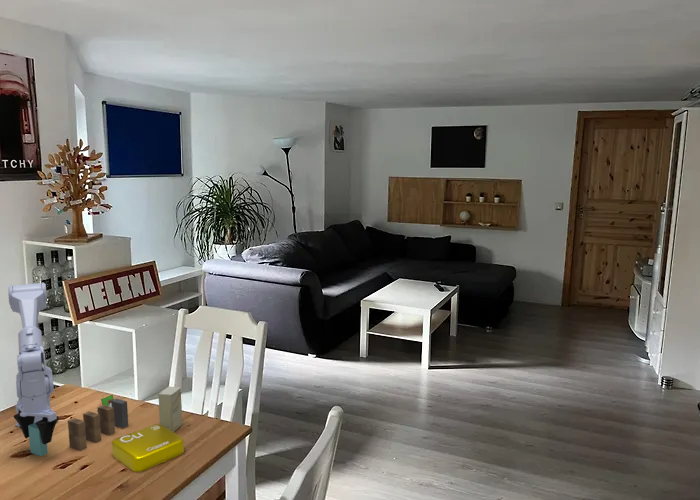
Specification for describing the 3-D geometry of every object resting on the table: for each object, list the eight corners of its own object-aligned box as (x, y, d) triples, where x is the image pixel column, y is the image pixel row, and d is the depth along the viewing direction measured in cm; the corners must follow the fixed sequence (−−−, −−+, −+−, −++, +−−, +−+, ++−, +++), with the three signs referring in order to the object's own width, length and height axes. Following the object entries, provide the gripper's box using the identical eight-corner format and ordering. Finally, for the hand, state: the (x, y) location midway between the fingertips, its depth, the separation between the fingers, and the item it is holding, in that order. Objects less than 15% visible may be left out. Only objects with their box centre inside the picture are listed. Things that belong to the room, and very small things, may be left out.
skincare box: (172, 433, 169) (171, 395, 167) (159, 432, 170) (157, 393, 168) (183, 424, 175) (181, 387, 173) (170, 422, 176) (168, 385, 174)
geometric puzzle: (89, 410, 179) (98, 394, 175) (108, 402, 185) (117, 386, 181) (102, 427, 177) (111, 411, 173) (120, 418, 183) (129, 403, 179)
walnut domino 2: (84, 439, 165) (83, 413, 163) (90, 436, 166) (88, 411, 165) (95, 443, 163) (93, 417, 161) (101, 440, 164) (99, 414, 163)
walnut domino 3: (99, 432, 169) (97, 407, 168) (104, 429, 171) (103, 404, 170) (109, 435, 167) (108, 410, 166) (115, 432, 169) (113, 407, 168)
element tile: (136, 475, 147) (135, 458, 146) (109, 455, 157) (108, 439, 156) (187, 453, 158) (186, 437, 157) (158, 436, 168) (158, 420, 167)
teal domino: (30, 452, 157) (28, 425, 156) (37, 449, 159) (35, 422, 158) (41, 456, 155) (38, 429, 154) (47, 453, 157) (45, 426, 156)
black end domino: (112, 425, 173) (111, 400, 172) (117, 422, 175) (116, 398, 174) (123, 428, 172) (121, 403, 170) (128, 425, 173) (127, 401, 172)
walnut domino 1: (69, 447, 160) (67, 420, 159) (75, 444, 162) (74, 417, 161) (80, 450, 158) (78, 424, 157) (86, 447, 160) (84, 421, 159)
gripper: (3, 393, 154) (7, 440, 156) (37, 403, 147) (41, 452, 150) (27, 384, 160) (31, 429, 162) (61, 394, 154) (65, 440, 156)
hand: (38, 439), depth 156 cm, fingers open, 7 cm apart
